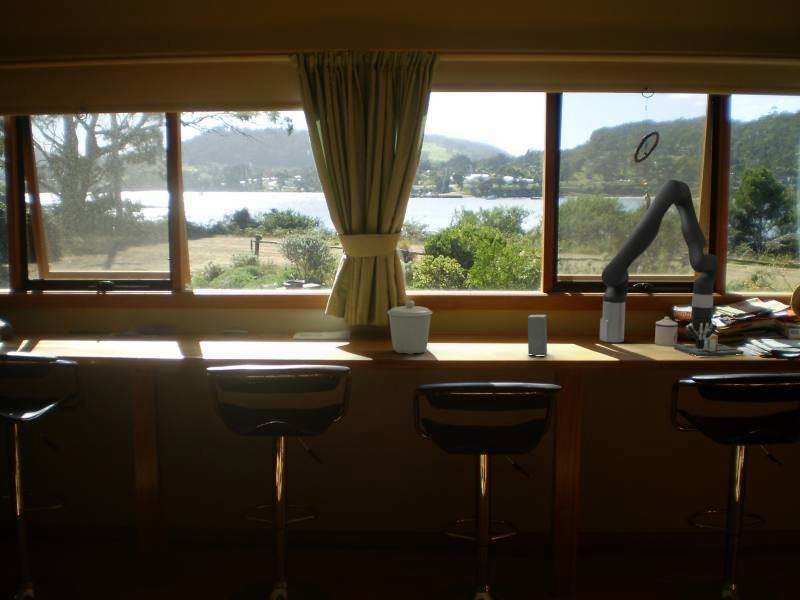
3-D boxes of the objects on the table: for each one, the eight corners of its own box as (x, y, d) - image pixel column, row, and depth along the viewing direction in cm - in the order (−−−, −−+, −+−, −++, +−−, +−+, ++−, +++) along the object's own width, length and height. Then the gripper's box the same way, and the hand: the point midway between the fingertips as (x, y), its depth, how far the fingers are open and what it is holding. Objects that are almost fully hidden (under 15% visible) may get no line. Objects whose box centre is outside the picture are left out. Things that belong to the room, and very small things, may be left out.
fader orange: (711, 346, 284) (712, 335, 283) (704, 344, 288) (704, 333, 288) (717, 346, 284) (718, 335, 283) (709, 343, 289) (710, 332, 288)
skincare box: (544, 357, 272) (545, 317, 270) (526, 356, 275) (527, 316, 273) (547, 353, 280) (548, 314, 278) (529, 351, 283) (530, 313, 280)
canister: (387, 347, 292) (387, 297, 289) (431, 347, 292) (431, 297, 289) (387, 357, 274) (387, 303, 271) (433, 356, 274) (433, 303, 271)
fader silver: (709, 351, 274) (709, 340, 274) (701, 348, 279) (702, 337, 278) (715, 351, 275) (716, 339, 274) (707, 348, 280) (708, 337, 279)
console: (699, 357, 271) (699, 353, 271) (673, 348, 288) (673, 344, 288) (744, 355, 276) (744, 351, 275) (716, 346, 292) (716, 342, 292)
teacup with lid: (678, 346, 292) (680, 319, 290) (655, 345, 294) (657, 318, 292) (673, 341, 303) (675, 314, 302) (651, 340, 305) (653, 313, 304)
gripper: (711, 303, 278) (708, 346, 281) (681, 304, 276) (679, 347, 278) (723, 306, 271) (720, 349, 274) (693, 307, 268) (690, 351, 271)
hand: (699, 348), depth 276 cm, fingers closed
